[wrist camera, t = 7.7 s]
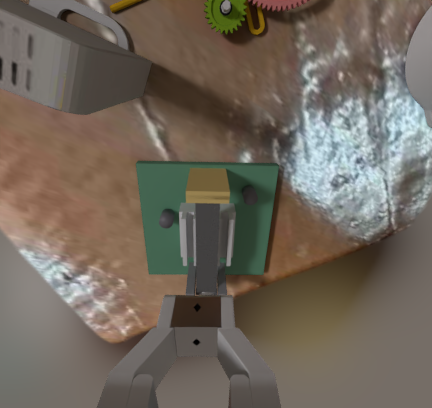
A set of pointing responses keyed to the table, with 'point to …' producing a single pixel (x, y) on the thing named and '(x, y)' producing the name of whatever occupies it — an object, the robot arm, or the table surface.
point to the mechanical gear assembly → (231, 12)
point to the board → (186, 222)
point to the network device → (66, 58)
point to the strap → (207, 247)
